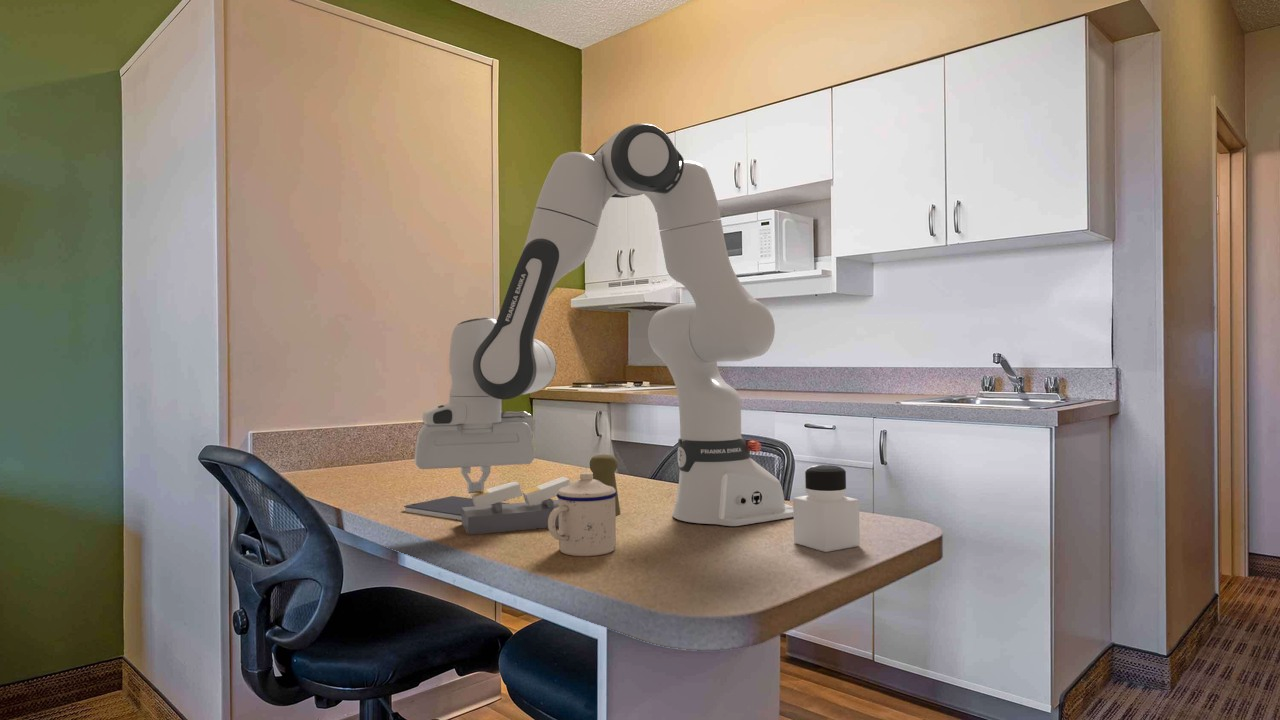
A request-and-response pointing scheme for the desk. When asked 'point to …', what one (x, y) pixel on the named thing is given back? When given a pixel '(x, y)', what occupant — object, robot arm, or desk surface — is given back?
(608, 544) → the teacup with lid
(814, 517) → the medicine bottle
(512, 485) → the rocker
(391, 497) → the desk surface
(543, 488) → the rocker
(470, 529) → the power strip
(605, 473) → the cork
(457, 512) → the notebook
